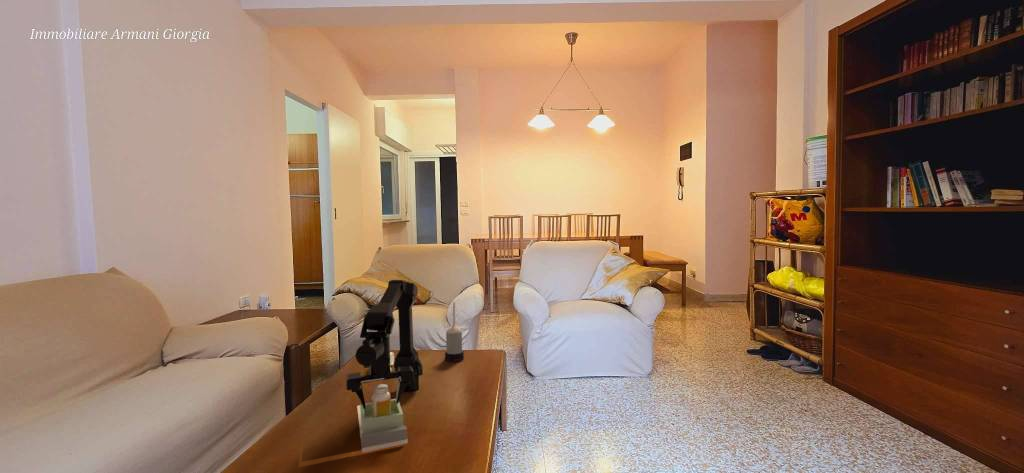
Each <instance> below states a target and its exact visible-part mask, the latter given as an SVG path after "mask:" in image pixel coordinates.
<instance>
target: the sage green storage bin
mask: <svg viewBox="0 0 1024 473" xmlns="http://www.w3.org/2000/svg"><path fill="white" fill-rule="evenodd" d="M359 405H360V410H361V424H362V432H363V433H368V432H374V431H379V430H384V429H390V428H395V427H400V426H404V413H403V410H402V407H401V403H400V402H399V403H398V404H397V403H396V398H393V399H392V398H391V415H386V416H381V417H375V418H372V403H371V402H368V403H365V409H364V408H363V406H362V403H361V404H359Z"/></svg>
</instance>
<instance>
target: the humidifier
mask: <svg viewBox="0 0 1024 473" xmlns="http://www.w3.org/2000/svg"><path fill="white" fill-rule="evenodd" d="M449 314H450V317H453V318H452V324H450V326H449V327H448V328H447V329H446V332H445V333H446V334H445V336H446V338H445V340H446V342H445V343H446V345H445V347H446V351H445V353H444V360H445V362H447V363H459V362H462V361H463V360H464V359H465V353H464V351H463V333H462V332H463V331H462V329H461V328H460V326H457V325H456V302H452V313H449ZM451 314H452V315H451Z"/></svg>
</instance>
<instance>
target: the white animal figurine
mask: <svg viewBox="0 0 1024 473" xmlns="http://www.w3.org/2000/svg"><path fill="white" fill-rule="evenodd" d="M394 362H395V353H394V352H392V351H390V372H393V371H392V367H391V366H394Z"/></svg>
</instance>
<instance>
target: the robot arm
mask: <svg viewBox="0 0 1024 473" xmlns="http://www.w3.org/2000/svg"><path fill="white" fill-rule="evenodd" d="M418 293H419V289H418V285H416V284H415V282H409V281H406V280H404V279H391V280H389V281H388V283H387V287H386V289H385V291H384V292H383V295H382V297H381V299H380V300H379V302H378V304H376V305H374V306H372V307H371V308H369V310H368V311H367V312H366V314H365V315H364V318H363V322H362V326H361V331H360V336H359V338H360V339H363V340H362V345H360V346H359V347H358V348H357V350H356V352H355V359H356V361H357V363H358V364H359V365H361V366H363V369H368V370H369V371H368V373H369V374H366V375H361V372H352V373H347V375H346V376H345V383H346V384H345V386H346V391H351V393H355V394H356V395H357V397H358V398H359V401H360V403H361V404H362V406H363V408H364V409H365V404H366V401H365V395H364V389H363V384H365V383H372V382H379V381H385V380H392V379H397V382H396V396H395V399H396V403H397V404H398V403H400V400H401V397H402V395H403V393H413V392H415V391H417V390H420V382H419V381H420V376H422V375H424V373H423V372H424V371H423V370H424V369H423V365H422V363H421V360H420V359H419V358H420V357H419V352H418V351H417V349H416V348H415V347H414V330H413V329H414V328H413V327H414V325H413V306H414V304H415V302H416V301H417V296H418ZM395 308H397V309H398V310H397V311H398V313H397V314H398V333H399V334H398V335H399V336H398V337H399V351H398V352H397V355H396V356H395V357H394V363H393V368H394V371H391V372H390V367H391V365H390V352H391V345H390V343H391V342H390V339H391V338H390V337H391V336H390V335H392V332H393V328H394V325H395V316H394V314H393V312H394V310H395Z"/></svg>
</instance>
